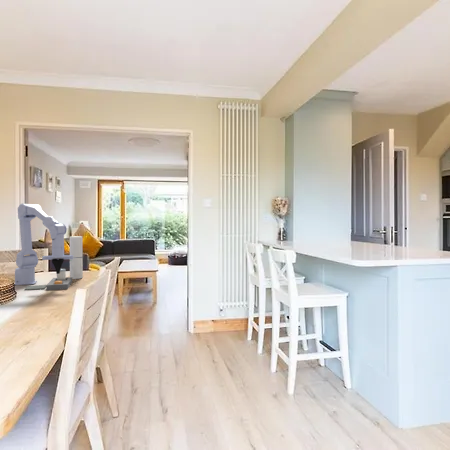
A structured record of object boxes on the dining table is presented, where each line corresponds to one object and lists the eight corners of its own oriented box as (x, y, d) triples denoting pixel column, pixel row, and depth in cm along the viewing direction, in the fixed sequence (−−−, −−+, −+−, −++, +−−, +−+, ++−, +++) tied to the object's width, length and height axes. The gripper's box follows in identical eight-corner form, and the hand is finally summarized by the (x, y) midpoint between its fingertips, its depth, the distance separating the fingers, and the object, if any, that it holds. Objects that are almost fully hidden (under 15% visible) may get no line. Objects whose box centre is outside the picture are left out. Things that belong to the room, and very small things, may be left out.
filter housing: (46, 290, 183) (46, 285, 183) (53, 282, 204) (53, 277, 204) (67, 289, 186) (67, 284, 186) (72, 281, 207) (72, 277, 207)
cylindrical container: (78, 279, 214) (77, 237, 214) (67, 278, 216) (67, 236, 215) (85, 277, 221) (84, 236, 221) (74, 276, 223) (74, 236, 222)
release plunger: (54, 287, 186) (53, 282, 186) (55, 286, 189) (55, 280, 189) (61, 287, 187) (61, 281, 187) (62, 286, 190) (62, 280, 190)
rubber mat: (24, 290, 182) (24, 289, 182) (28, 286, 191) (28, 285, 191) (44, 289, 185) (44, 288, 185) (47, 286, 193) (47, 284, 193)
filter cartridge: (56, 284, 196) (55, 270, 196) (57, 283, 201) (56, 269, 201) (65, 284, 198) (65, 269, 198) (66, 282, 203) (66, 268, 202)
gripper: (41, 248, 182) (41, 275, 182) (72, 247, 186) (72, 274, 186) (43, 247, 188) (43, 273, 189) (73, 246, 193) (73, 271, 193)
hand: (58, 273), depth 188 cm, fingers closed
